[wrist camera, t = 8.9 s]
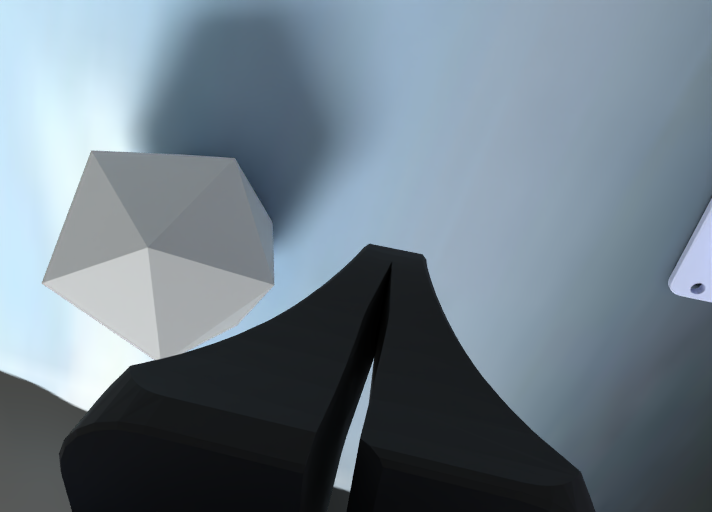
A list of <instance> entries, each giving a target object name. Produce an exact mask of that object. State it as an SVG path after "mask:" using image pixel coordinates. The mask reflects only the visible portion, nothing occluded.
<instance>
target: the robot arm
mask: <svg viewBox="0 0 712 512" xmlns="http://www.w3.org/2000/svg"><path fill="white" fill-rule="evenodd" d="M696 283H702V285H701V286H700V287H699V288H696V289H691V287H692V286H693V285H694V284H696ZM668 284H669V287H670V289H671V291H672V292H673V293H674V294H677V295H679V296H684V297H689V298H693V299H698V300H703V301H708V302H712V199H711V201H710V203H709V204H708V206H707V208H706V210H705V212H704V214H703V216H702V218H701V220H700V221H699V223H698V225H697V227H696V229H695V231H694V233H693V235H692V237H691V238H690V240H689V242H688V244H687V246H686V248H685V250H684V252H683V253H682V255H681V257H680V259H679V261H678V263H677V265H676V267H675V269H674V270H673V272H672V274H671V276H670V278H669V281H668ZM373 359H374V364H373V373H372V381H371V390H370V399H369V406H368V410H367V414H366V418H365V422H364V426H363V429H362V433H361V437H360V442H359V448H358V453H357V458H356V464H355V469H354V474H353V480H352V485H351V490H350V496H349V501H348V507H347V512H595V509H594V506H593V503H592V501H591V498H590V495H589V493H588V490H587V487H586V485H585V482H584V479H583V477H582V474H581V472H580V471H579V470H578V469H577V468H576V467H574V466H573V465H572V464H571V463H570V462H568V461H567V460H566V459H565V458H564V457H563V456H561V455H560V454H559V453H558V452H557V451H555V450H554V449H553V448H552V447H551V446H550V445H548V444H547V443H546V442H545V441H544V440H542V439H541V438H540V437H539V436H538V435H537V434H536V433H535V432H533V431H532V430H531V429H530V428H529V427H528V426H527V425H526V424H525V423H524V422H523V421H522V420H521V419H520V418H519V417H518V416H517V415H516V414H515V413H514V412H513V411H512V410H511V409H510V408H509V407H508V406H507V404H506V403H505V402H504V401H503V400H502V399H501V398H500V397H499V396H498V394H497V393H496V392H495V391H494V390H493V388H492V387H491V386H490V385H489V384H488V383H487V381H486V380H485V379H484V378H483V377H482V375H481V374H480V373H479V371H478V370H477V368H476V367H475V366H474V364H473V363H472V361H471V360H470V358H469V357H468V355H467V354H466V352H465V351H464V349H463V347H462V346H461V344H460V342H459V341H458V339H457V337H456V336H455V334H454V332H453V330H452V328H451V326H450V324H449V322H448V320H447V318H446V316H445V314H444V312H443V310H442V307H441V305H440V303H439V300H438V298H437V296H436V293H435V290H434V288H433V285H432V282H431V279H430V275H429V272H428V268H427V262H426V259H425V257H424V256H423V254H418V253H413V252H408V251H403V250H398V249H393V248H388V247H383V246H378V245H373V244H369V245H367V246H365V247H364V248H363V249H362V250H361V251H360V252H359V253H358V254H357V256H356V257H355V258H354V259H353V260H352V261H350V262H349V263H348V264H347V265H346V266H345V267H344V268H343V269H342V270H341V271H340V272H338V273H337V274H336V275H335V276H334V277H332V278H331V279H330V280H329V281H328V282H327V283H325V284H324V285H323V286H321V287H320V288H319V289H317V290H316V291H315V292H313V293H312V294H310V295H309V296H308V297H306V298H305V299H304V300H302V301H301V302H299V303H298V304H296V305H295V306H293V307H291V308H290V309H288V310H287V311H285V312H283V313H281V314H280V315H278V316H276V317H274V318H273V319H271V320H269V321H267V322H265V323H262V324H260V325H258V326H256V327H253V328H251V329H249V330H247V331H245V332H242V333H240V334H238V335H236V336H233V337H230V338H228V339H225V340H222V341H220V342H217V343H214V344H211V345H208V346H205V347H202V348H199V349H196V350H192V351H189V352H186V353H182V354H178V355H174V356H170V357H166V358H162V359H158V360H154V361H150V362H146V363H142V364H137V365H132V366H130V367H129V368H128V369H127V370H126V371H125V372H124V373H123V374H122V375H121V376H120V377H119V378H118V379H117V380H116V381H115V382H114V383H113V384H111V385H110V387H109V388H108V389H107V390H106V391H105V392H104V393H103V394H102V395H101V397H100V398H99V399H98V400H97V401H96V402H95V404H94V405H93V406H92V407H91V408H90V410H89V411H88V412H87V413H86V414H85V416H84V417H83V418H82V419H81V420H80V422H79V423H78V424H77V425H76V426H75V428H74V429H73V430H72V431H71V432H70V434H69V435H68V436H67V437H66V438H65V440H64V442H63V445H62V447H61V450H60V453H59V457H60V467H61V474H62V478H63V481H64V485H65V488H66V492H67V495H68V498H69V502H70V505H71V509H72V512H327V510H328V506H329V502H330V498H331V493H332V489H333V485H334V481H335V477H336V473H337V469H338V465H339V461H340V457H341V453H342V449H343V446H344V443H345V439H346V436H347V433H348V430H349V427H350V425H351V422H352V419H353V416H354V413H355V410H356V408H357V405H358V402H359V399H360V396H361V393H362V391H363V388H364V385H365V382H366V379H367V376H368V373H369V371H370V368H371V365H372V362H373Z"/></svg>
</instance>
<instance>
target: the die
mask: <svg viewBox="0 0 712 512" xmlns="http://www.w3.org/2000/svg"><path fill="white" fill-rule="evenodd" d="M42 284H43V285H45V286H46V287H48V288H49V289H51V290H52V291H54V292H55V293H57V294H58V295H59V296H61V297H62V298H64V299H65V300H67V301H68V302H70V303H71V304H73V305H74V306H76V307H77V308H79V309H80V310H82V311H83V312H85V313H86V314H87V315H89V316H90V317H92V318H93V319H95V320H96V321H98V322H99V323H101V324H102V325H104V326H105V327H107V328H108V329H110V330H111V331H113V332H114V333H116V334H117V335H118V336H120V337H121V338H123V339H124V340H126V341H127V342H129V343H130V344H132V345H133V346H135V347H136V348H138V349H139V350H141V351H142V352H144V353H145V354H146V355H148V356H149V357H151V358H152V359H154V360H158V359H162V358H166V357H170V356H174V355H178V354H182V353H184V352H186V351H188V350H190V349H192V348H194V347H196V346H198V345H200V344H202V343H204V342H206V341H208V340H210V339H212V338H214V337H216V336H218V335H220V334H222V333H223V332H225V331H227V330H229V329H231V328H233V327H235V326H237V325H238V324H239V323H240V322H241V321H242V319H243V318H244V317H245V316H246V315H247V314H248V313H249V312H250V311H251V310H252V309H253V308H254V306H255V305H256V304H257V303H258V302H259V301H260V300H261V299H262V298H263V297H264V296H265V295H266V293H267V292H268V291H269V290H270V289H271V288H272V287H273V286H274V252H273V222H272V220H271V219H270V217H269V215H268V214H267V212H266V210H265V209H264V207H263V205H262V203H261V202H260V200H259V198H258V197H257V195H256V193H255V191H254V190H253V188H252V186H251V185H250V183H249V181H248V180H247V178H246V176H245V174H244V173H243V171H242V169H241V168H240V166H239V164H238V162H237V161H236V159H235V158H227V157H212V156H198V155H184V154H160V153H136V152H112V151H91V153H90V155H89V158H88V161H87V164H86V166H85V169H84V172H83V174H82V177H81V180H80V182H79V185H78V188H77V190H76V193H75V196H74V198H73V201H72V204H71V206H70V209H69V212H68V214H67V217H66V220H65V222H64V225H63V228H62V230H61V233H60V236H59V238H58V241H57V244H56V246H55V249H54V252H53V254H52V257H51V260H50V262H49V265H48V268H47V270H46V273H45V276H44V278H43V281H42Z"/></svg>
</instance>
